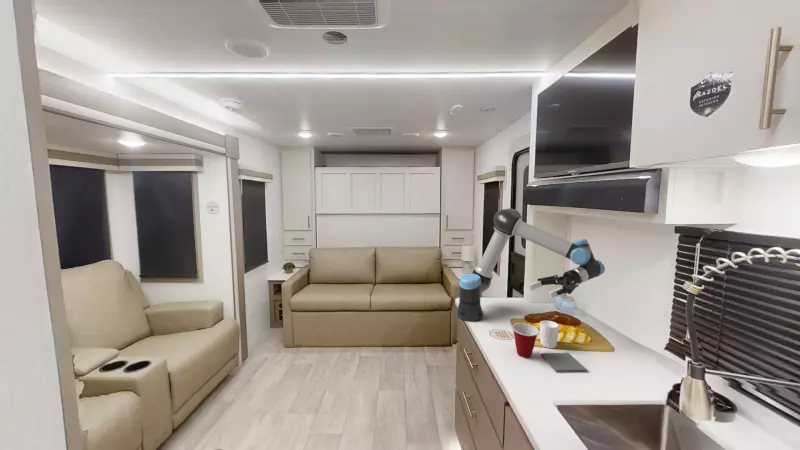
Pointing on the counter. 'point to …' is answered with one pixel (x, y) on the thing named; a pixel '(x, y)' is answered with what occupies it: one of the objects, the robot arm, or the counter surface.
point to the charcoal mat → (563, 362)
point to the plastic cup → (524, 338)
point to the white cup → (548, 334)
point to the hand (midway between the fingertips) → (539, 291)
